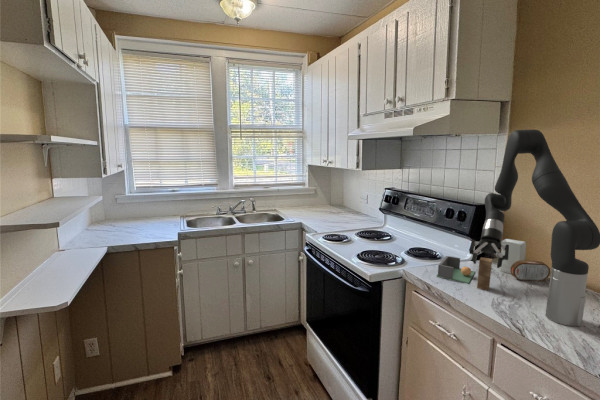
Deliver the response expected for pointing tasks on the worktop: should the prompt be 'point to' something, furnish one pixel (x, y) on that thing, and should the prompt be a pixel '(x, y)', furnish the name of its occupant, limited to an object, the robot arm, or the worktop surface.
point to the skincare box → (512, 253)
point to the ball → (466, 271)
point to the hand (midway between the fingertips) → (486, 264)
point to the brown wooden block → (484, 273)
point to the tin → (530, 270)
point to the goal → (452, 270)
